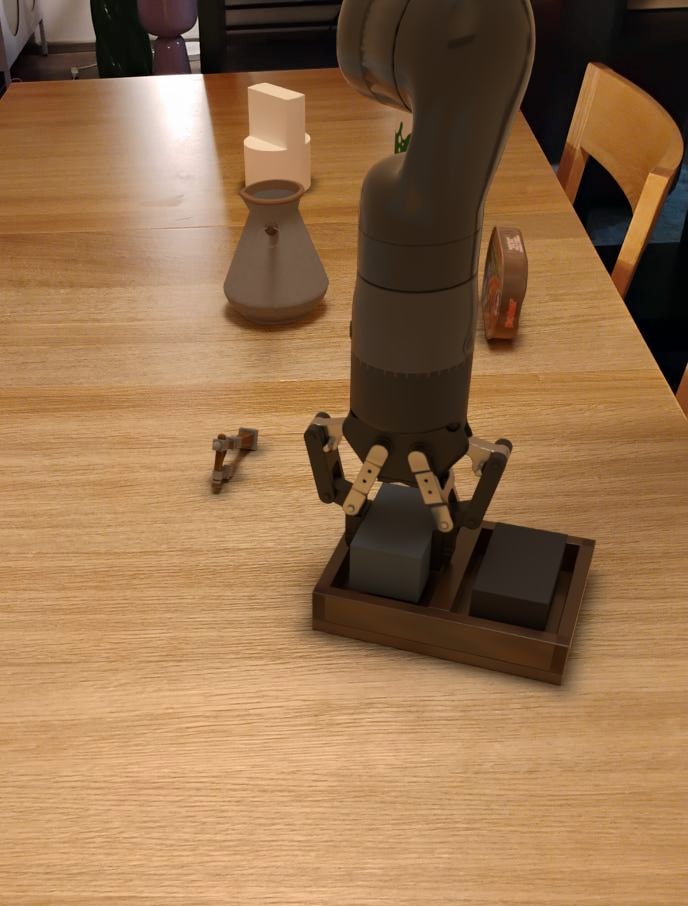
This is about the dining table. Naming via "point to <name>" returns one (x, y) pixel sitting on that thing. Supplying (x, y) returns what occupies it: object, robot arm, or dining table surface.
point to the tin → (504, 282)
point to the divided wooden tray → (457, 612)
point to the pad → (393, 545)
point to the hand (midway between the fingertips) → (398, 555)
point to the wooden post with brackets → (223, 443)
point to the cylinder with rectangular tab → (276, 136)
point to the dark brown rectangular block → (518, 576)
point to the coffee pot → (275, 257)
